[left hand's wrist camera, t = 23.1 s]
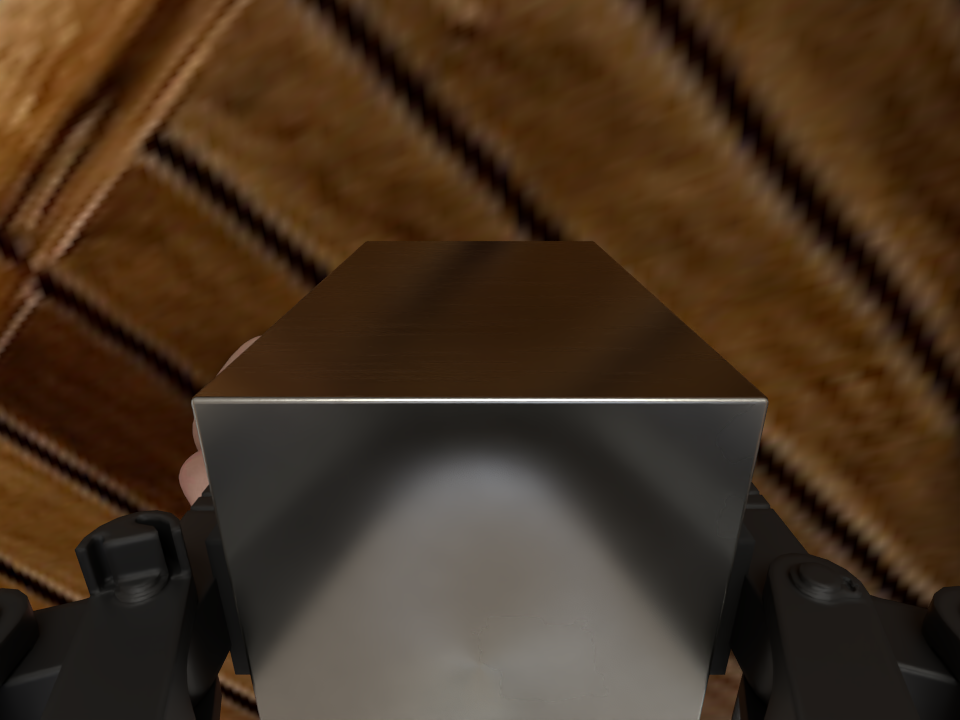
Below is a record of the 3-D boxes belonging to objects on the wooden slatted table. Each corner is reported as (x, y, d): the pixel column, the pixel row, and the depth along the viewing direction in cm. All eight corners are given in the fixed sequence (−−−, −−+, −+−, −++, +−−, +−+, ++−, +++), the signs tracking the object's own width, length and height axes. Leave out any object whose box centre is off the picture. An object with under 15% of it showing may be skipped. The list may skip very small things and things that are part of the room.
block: (365, 241, 16) (187, 398, 6) (594, 241, 16) (772, 398, 6) (384, 486, 19) (285, 844, 9) (575, 486, 19) (674, 844, 9)
